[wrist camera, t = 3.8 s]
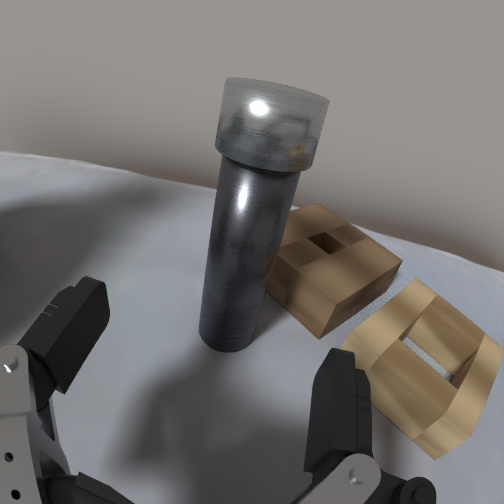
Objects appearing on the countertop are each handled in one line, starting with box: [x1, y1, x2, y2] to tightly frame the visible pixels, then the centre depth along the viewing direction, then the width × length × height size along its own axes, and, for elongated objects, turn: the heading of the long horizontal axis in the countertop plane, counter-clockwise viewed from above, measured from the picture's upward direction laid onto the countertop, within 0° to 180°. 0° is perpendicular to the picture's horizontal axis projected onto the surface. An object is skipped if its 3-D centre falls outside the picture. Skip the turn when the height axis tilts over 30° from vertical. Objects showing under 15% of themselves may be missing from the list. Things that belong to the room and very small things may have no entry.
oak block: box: [341, 278, 504, 460], centre depth 19 cm, size 10×10×4 cm
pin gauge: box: [199, 78, 329, 352], centre depth 17 cm, size 4×4×15 cm
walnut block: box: [267, 204, 403, 339], centre depth 26 cm, size 10×10×4 cm
